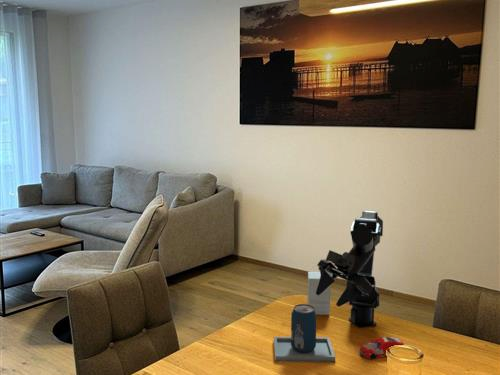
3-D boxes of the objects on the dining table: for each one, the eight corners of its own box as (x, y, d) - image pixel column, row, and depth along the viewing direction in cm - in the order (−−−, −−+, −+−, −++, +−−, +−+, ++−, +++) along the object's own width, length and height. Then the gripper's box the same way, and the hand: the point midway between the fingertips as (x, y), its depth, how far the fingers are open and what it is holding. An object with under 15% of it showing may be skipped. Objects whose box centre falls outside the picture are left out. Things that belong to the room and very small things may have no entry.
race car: (365, 362, 124) (366, 348, 123) (355, 352, 129) (355, 339, 128) (407, 354, 127) (408, 341, 127) (396, 345, 132) (396, 332, 132)
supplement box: (328, 306, 159) (329, 271, 157) (329, 315, 152) (331, 278, 150) (306, 305, 160) (307, 270, 158) (307, 314, 153) (308, 278, 151)
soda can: (313, 342, 132) (314, 302, 130) (318, 354, 125) (319, 313, 124) (289, 343, 132) (289, 303, 130) (292, 355, 125) (293, 313, 123)
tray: (328, 342, 134) (328, 337, 133) (335, 362, 123) (335, 356, 123) (273, 341, 134) (273, 336, 134) (275, 361, 123) (275, 356, 123)
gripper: (323, 233, 138) (291, 274, 135) (366, 248, 122) (332, 295, 119) (342, 254, 143) (313, 294, 140) (386, 272, 127) (354, 318, 123)
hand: (326, 300), depth 130 cm, fingers open, 9 cm apart
